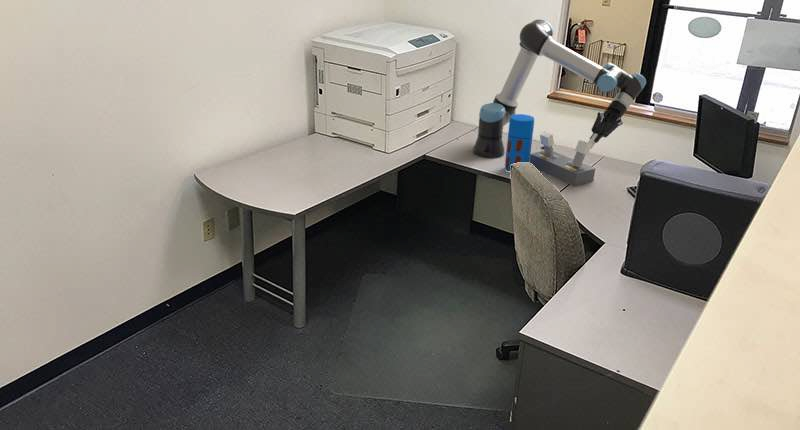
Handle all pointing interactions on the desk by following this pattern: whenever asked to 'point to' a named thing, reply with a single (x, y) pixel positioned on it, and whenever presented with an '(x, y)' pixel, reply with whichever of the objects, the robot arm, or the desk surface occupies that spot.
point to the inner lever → (547, 142)
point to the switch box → (562, 168)
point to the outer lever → (581, 152)
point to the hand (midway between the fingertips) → (588, 146)
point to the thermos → (519, 139)
